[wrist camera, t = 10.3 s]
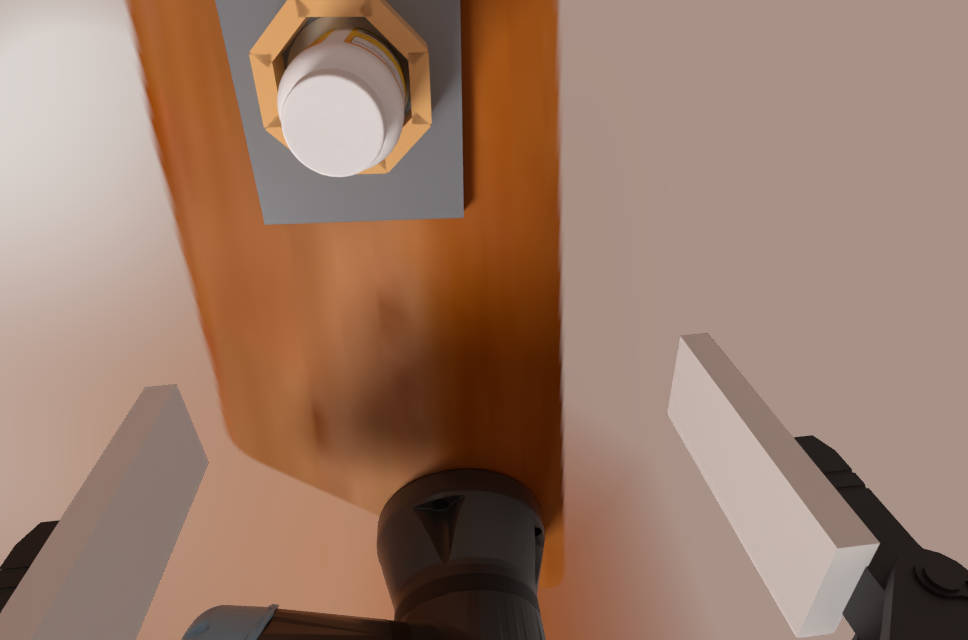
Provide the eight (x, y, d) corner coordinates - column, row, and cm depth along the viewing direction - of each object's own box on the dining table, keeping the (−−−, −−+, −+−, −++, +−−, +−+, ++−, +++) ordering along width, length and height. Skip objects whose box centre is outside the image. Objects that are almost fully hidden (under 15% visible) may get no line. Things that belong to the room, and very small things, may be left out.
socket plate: (462, 211, 36) (466, 234, 33) (268, 218, 35) (255, 242, 32) (457, -102, 27) (462, -109, 24) (198, -106, 26) (171, -113, 23)
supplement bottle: (313, 135, 31) (277, 198, 23) (293, 26, 29) (245, 56, 20) (410, 130, 32) (408, 191, 24) (401, 23, 29) (395, 50, 21)
